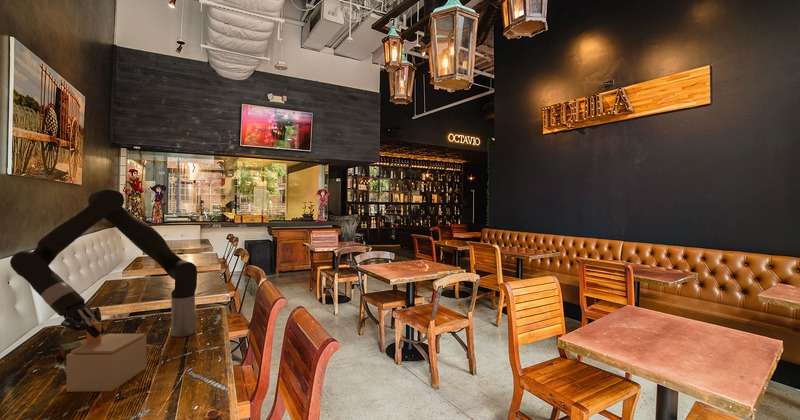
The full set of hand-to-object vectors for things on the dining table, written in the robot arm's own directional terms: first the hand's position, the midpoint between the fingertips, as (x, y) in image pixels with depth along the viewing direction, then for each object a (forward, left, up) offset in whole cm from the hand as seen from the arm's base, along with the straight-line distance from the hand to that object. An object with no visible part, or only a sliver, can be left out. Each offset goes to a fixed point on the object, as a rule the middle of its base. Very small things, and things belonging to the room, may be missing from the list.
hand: (100, 334), depth 121 cm
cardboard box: (-2, +2, -15) cm, 15 cm away
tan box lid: (-2, +2, -3) cm, 4 cm away
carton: (+7, -34, -16) cm, 38 cm away
